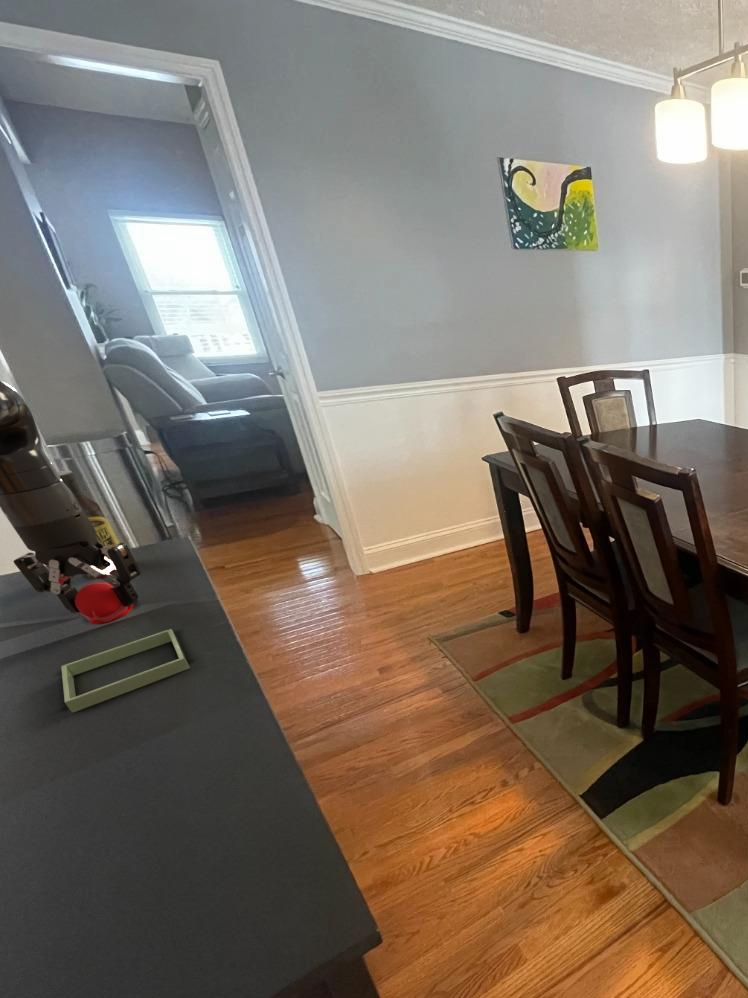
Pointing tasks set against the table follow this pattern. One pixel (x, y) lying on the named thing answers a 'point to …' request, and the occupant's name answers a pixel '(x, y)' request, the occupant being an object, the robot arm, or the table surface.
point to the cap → (100, 603)
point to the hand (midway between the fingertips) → (105, 606)
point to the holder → (127, 683)
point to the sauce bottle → (91, 513)
